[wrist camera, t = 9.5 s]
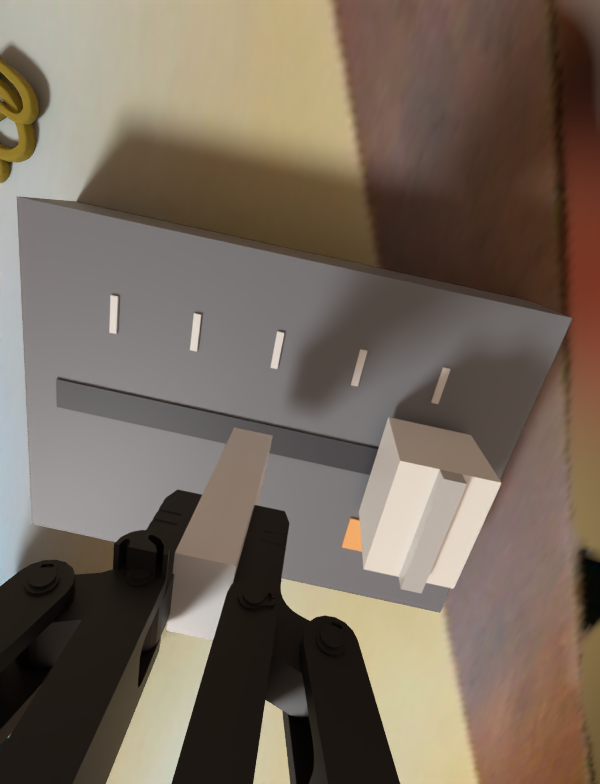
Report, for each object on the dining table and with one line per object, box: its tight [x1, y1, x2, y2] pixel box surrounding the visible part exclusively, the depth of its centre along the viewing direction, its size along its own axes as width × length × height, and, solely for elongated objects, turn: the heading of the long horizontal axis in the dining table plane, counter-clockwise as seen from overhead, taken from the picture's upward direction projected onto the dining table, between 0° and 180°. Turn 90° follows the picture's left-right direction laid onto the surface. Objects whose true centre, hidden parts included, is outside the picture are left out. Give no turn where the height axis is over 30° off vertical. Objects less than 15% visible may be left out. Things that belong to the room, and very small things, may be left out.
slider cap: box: [359, 417, 501, 593], centre depth 17 cm, size 5×4×4 cm
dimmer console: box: [17, 197, 572, 612], centre depth 21 cm, size 16×22×4 cm
